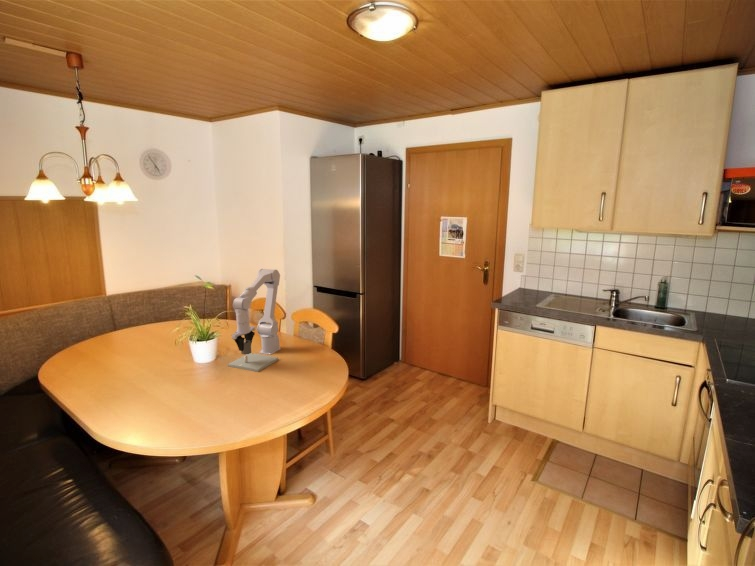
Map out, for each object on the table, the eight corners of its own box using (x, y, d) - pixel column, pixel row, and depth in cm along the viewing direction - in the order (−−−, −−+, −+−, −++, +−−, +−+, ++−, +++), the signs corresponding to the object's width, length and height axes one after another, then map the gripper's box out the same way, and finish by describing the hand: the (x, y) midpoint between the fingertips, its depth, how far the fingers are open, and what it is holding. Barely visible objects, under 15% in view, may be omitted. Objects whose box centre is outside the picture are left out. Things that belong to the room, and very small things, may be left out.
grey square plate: (249, 354, 218) (249, 347, 218) (278, 359, 211) (278, 351, 211) (228, 366, 204) (227, 358, 203) (257, 371, 197) (257, 363, 196)
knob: (246, 350, 207) (246, 338, 206) (253, 352, 205) (252, 340, 204) (239, 353, 204) (238, 341, 202) (246, 355, 201) (245, 343, 200)
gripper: (246, 317, 209) (248, 342, 212) (225, 325, 196) (228, 352, 199) (257, 318, 207) (259, 344, 210) (237, 326, 194) (239, 354, 196)
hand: (245, 348), depth 204 cm, fingers closed on knob, 5 cm apart
